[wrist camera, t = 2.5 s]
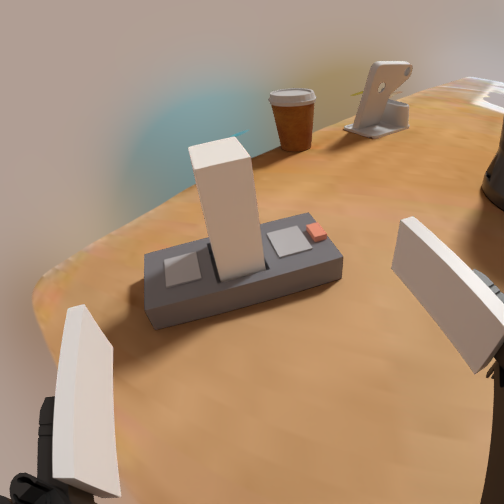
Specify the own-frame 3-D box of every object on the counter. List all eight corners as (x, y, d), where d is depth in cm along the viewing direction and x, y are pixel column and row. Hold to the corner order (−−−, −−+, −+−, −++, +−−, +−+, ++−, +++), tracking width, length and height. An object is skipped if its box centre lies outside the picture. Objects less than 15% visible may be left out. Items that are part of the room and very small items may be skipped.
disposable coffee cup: (321, 153, 60) (319, 95, 52) (273, 156, 61) (267, 98, 54) (316, 138, 67) (313, 87, 60) (273, 140, 68) (268, 89, 61)
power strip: (309, 232, 40) (308, 207, 38) (341, 278, 33) (343, 251, 31) (152, 273, 37) (142, 249, 35) (154, 330, 30) (142, 305, 28)
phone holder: (382, 118, 78) (381, 57, 67) (412, 127, 71) (414, 62, 60) (341, 129, 71) (339, 58, 60) (374, 139, 64) (374, 62, 53)
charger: (251, 244, 37) (234, 136, 29) (266, 279, 32) (250, 156, 24) (213, 254, 36) (187, 146, 28) (223, 290, 32) (194, 169, 24)
